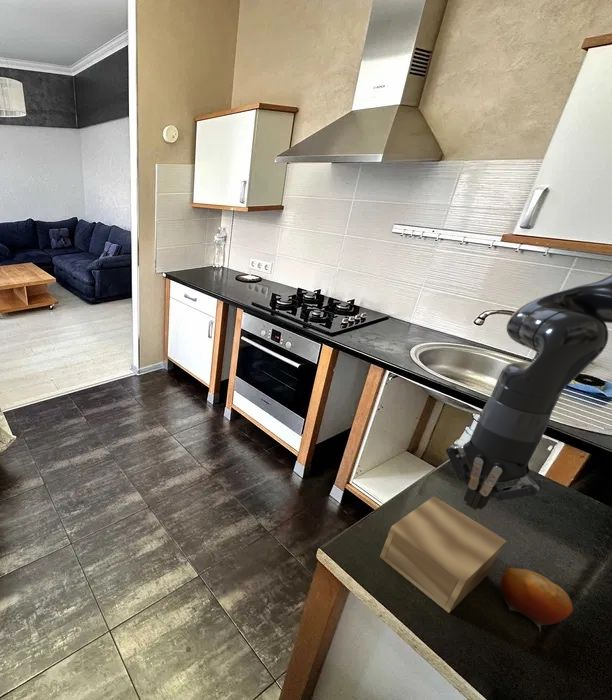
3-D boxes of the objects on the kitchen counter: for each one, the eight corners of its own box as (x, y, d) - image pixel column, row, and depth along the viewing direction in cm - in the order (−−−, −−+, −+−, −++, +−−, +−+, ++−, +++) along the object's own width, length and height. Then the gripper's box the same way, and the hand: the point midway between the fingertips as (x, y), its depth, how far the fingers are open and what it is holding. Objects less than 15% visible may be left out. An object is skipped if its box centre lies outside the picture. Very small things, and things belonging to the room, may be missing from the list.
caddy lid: (432, 498, 74) (433, 495, 74) (505, 544, 65) (507, 540, 64) (390, 529, 68) (391, 526, 67) (464, 584, 58) (466, 580, 58)
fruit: (494, 610, 61) (513, 564, 60) (489, 596, 67) (507, 555, 66) (565, 650, 55) (586, 601, 55) (553, 632, 61) (572, 587, 61)
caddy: (418, 527, 77) (429, 501, 74) (487, 575, 68) (503, 547, 65) (379, 557, 71) (390, 529, 68) (448, 613, 61) (464, 584, 58)
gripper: (575, 440, 57) (529, 523, 64) (472, 400, 67) (442, 475, 74) (557, 457, 53) (510, 542, 60) (451, 412, 64) (421, 489, 71)
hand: (472, 505), depth 67 cm, fingers closed
